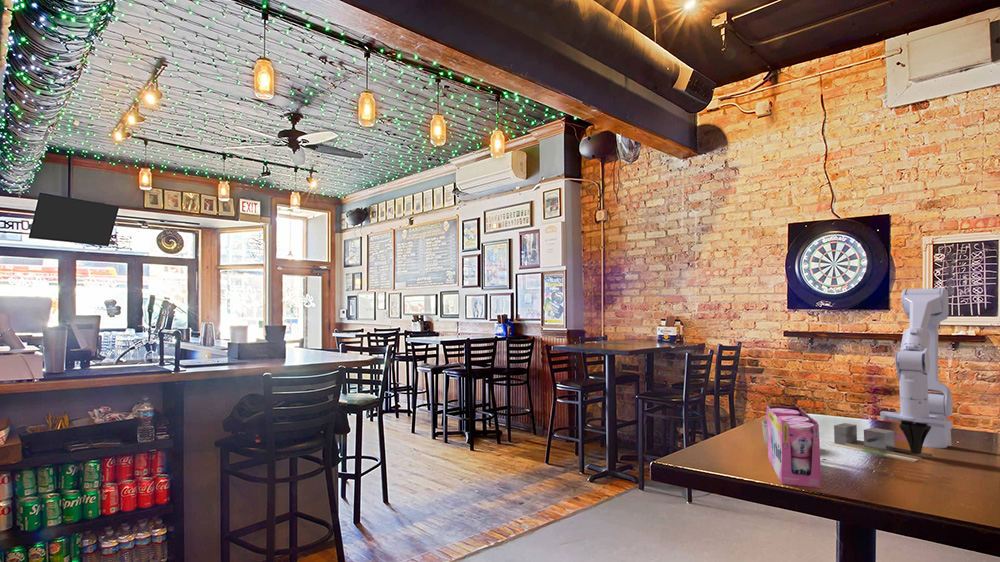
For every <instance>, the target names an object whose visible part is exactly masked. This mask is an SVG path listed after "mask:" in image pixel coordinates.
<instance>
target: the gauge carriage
mask: <svg viewBox="0 0 1000 562" xmlns="http://www.w3.org/2000/svg"><path fill="white" fill-rule="evenodd" d="M863 441H864V444H863V446H864V447H869V448H874V449H880V450H885V451H890V452H895V451H896V450H895V447H896V446H895V445H896V444H895V431H894V430H890V429H882V428H878V427H870V428H865V429H863Z"/></svg>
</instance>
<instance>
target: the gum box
mask: <svg viewBox="0 0 1000 562" xmlns="http://www.w3.org/2000/svg"><path fill="white" fill-rule="evenodd" d="M766 420H767V437H768V446H767V459H768V460H769V463H770V464H771V467H772V468H773V469H774V472H775V474H776V476H777V478H778V479H779V481H780V483H781V484H782V485H788V486H789V485H791V486H796V485H797V487H808V488H809V487H810V488H816V487H817V488H818V489H821V488H822V471H821V470H822V469H821V467H822V466H821V449H820V447H821V445H820V428H819V425H820V424H819V422H818V421H816V420H815V419H814V418H813V417H811V416H810V415H808V413H806V411H804V410H803V409H802V408H801V407H800V406H785V405H783V406H782V405H781V406H780V405H767V406H766ZM817 488H816V489H817Z"/></svg>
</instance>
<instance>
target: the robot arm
mask: <svg viewBox="0 0 1000 562" xmlns="http://www.w3.org/2000/svg"><path fill="white" fill-rule="evenodd" d="M900 303H901V307H902V309H903V311H904V314H905V316H906V318H907V319H909V325H908V328H906V329H905V330H904V331H903V333H902V338H901V344H900V348H899V351H896V353H895V357H894V362H895V363H894V364H895V370H896V375H897V377H896V378H897V380H898V386H899V407H900V412H895V411H885V410H883V411H880V414H879V415H880V420H884V421H885V420H886V421H887V420H888V421H894V422H899V423H900V424H898V426H899V428H900V430H901V431H902V433H903V434H904V437H905V438H906V440H907V442H908V443H907V444H908V446H909V450H911V453H910V454H912V453H914V454H913V455H917V454H920V453H921V452H922V449H923V447H926V448H934V449H946V448H948V446H949V447H952V429H953V420H951V419H947V418H950V417H952V416H953V411H954V410H953V409H954V408H953V407H954V406H953V405H954V404H953V397H952V395H953V394H952V390H951V388H950V387H949V386H948V385H946V384H944V383H943V382H941V381H940V380H939V328H940V324H941V322H943V321H944V320H947V319H948V316H949V311H950V310H949V304H950V303H949V292H948V290H947V289H946V288H945V287H941V288H939V287H938V288H936V287H935V288H904V289H903V290H902V291H901V294H900Z"/></svg>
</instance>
